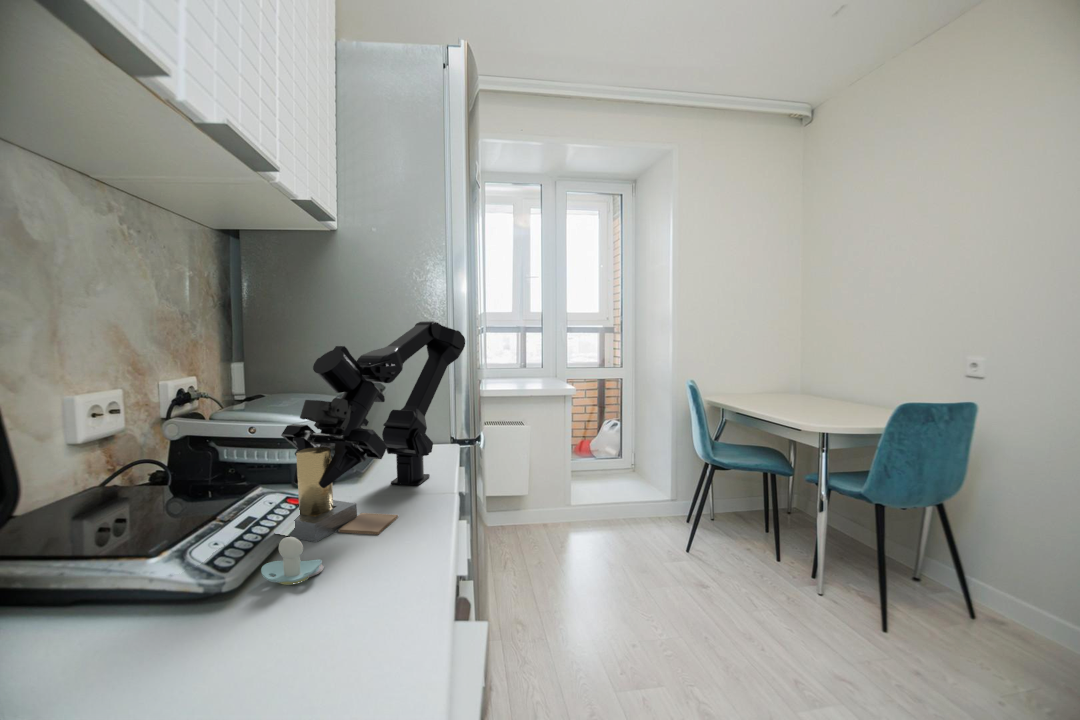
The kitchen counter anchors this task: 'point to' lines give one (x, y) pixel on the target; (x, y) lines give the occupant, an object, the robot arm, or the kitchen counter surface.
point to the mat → (368, 523)
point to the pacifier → (291, 564)
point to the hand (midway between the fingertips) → (308, 485)
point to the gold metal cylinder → (313, 481)
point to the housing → (324, 522)
